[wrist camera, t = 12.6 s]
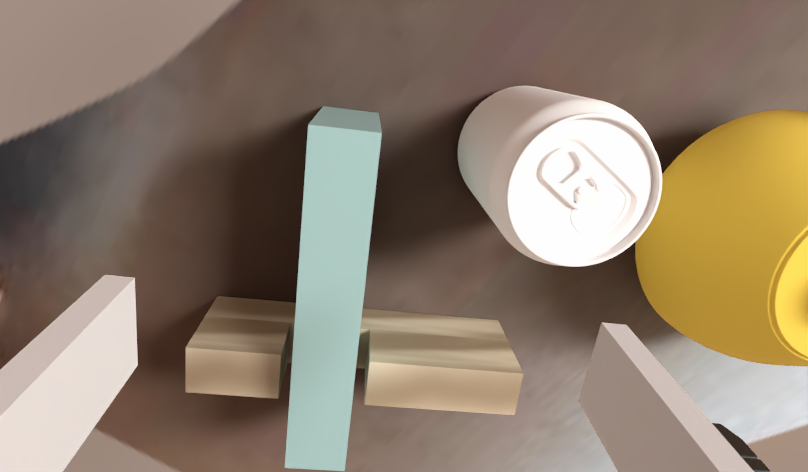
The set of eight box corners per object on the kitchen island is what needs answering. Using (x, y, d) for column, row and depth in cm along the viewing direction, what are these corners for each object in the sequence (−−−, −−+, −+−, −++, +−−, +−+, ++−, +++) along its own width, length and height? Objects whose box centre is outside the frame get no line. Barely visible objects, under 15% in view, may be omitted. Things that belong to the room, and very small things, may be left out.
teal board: (323, 106, 34) (308, 124, 26) (378, 112, 35) (381, 132, 26) (302, 380, 41) (284, 467, 32) (349, 383, 41) (344, 471, 32)
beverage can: (507, 231, 38) (567, 308, 26) (430, 145, 36) (459, 189, 24) (601, 151, 36) (706, 197, 25) (527, 57, 34) (605, 60, 23)
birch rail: (217, 295, 38) (185, 347, 31) (498, 320, 40) (523, 373, 33) (216, 334, 39) (185, 392, 32) (490, 356, 41) (514, 415, 34)
